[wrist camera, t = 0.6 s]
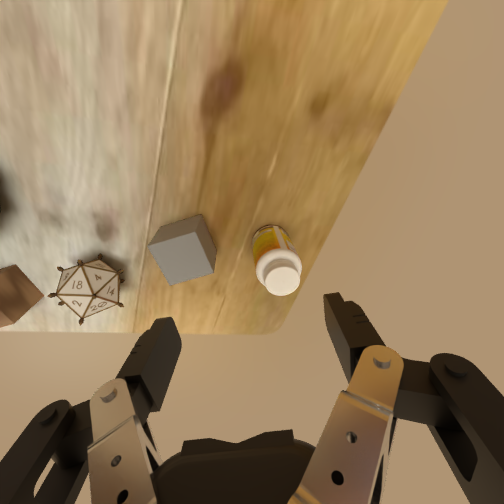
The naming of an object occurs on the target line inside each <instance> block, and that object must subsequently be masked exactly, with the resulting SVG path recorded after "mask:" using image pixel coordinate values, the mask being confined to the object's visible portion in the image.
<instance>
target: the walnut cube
mask: <svg viewBox="0 0 504 504" xmlns="http://www.w3.org/2000/svg"><path fill="white" fill-rule="evenodd" d="M43 296H44V295H43V294H42V293H41V292H40V291H39V289H38V288H37V287H36V286H35V285H34V284H33V283H32V282H31V281H30V280H29V278H28V277H27V276H26V275H25V274H24V273H23V272H22V271H21V270H20V269H19V267H18V266H17V265H16V264H15V265H12V266H9V267H6V268H2V269H0V328H1V327H4V326H7V325H11V324H14V323H15V322H16V321H17V320H19V319H20V318H21V317H22V316H23V315H24V314H25V313H26V312H27V311H28V310H29V309H30V308H31V307H33V306H34V305H35V304H36V303H37V302H38V301H39V300H40V299H41V298H42V297H43Z"/></svg>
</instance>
